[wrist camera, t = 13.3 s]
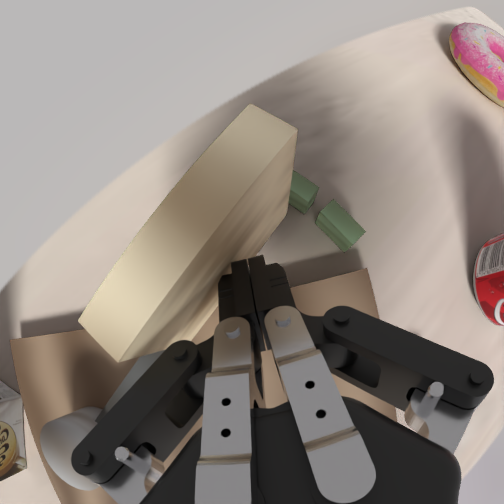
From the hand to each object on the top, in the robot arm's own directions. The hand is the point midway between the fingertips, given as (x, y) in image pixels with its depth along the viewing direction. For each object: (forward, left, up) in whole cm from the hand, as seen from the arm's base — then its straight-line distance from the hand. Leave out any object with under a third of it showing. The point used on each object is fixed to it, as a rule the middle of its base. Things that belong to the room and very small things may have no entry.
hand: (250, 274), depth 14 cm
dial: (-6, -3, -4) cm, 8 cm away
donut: (+33, +16, -6) cm, 37 cm away
